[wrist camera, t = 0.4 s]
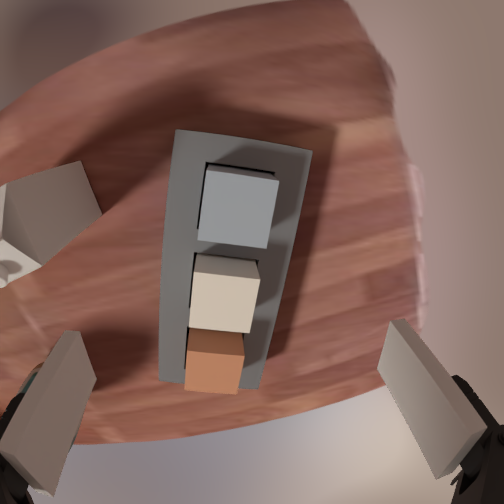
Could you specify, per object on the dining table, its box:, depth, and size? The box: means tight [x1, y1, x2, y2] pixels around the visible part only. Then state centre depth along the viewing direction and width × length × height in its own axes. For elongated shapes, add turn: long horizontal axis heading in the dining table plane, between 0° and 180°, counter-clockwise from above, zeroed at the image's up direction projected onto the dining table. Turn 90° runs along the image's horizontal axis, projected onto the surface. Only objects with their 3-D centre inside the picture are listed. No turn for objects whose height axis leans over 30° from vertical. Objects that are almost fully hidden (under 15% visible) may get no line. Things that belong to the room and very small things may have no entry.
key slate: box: [197, 163, 279, 249], centre depth 29 cm, size 6×6×6 cm
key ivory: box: [189, 252, 260, 333], centre depth 32 cm, size 6×6×6 cm
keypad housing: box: [159, 129, 313, 389], centre depth 36 cm, size 13×30×5 cm, turn 170°
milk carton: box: [0, 161, 102, 288], centre depth 24 cm, size 7×7×19 cm
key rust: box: [185, 327, 245, 394], centre depth 35 cm, size 6×6×6 cm
